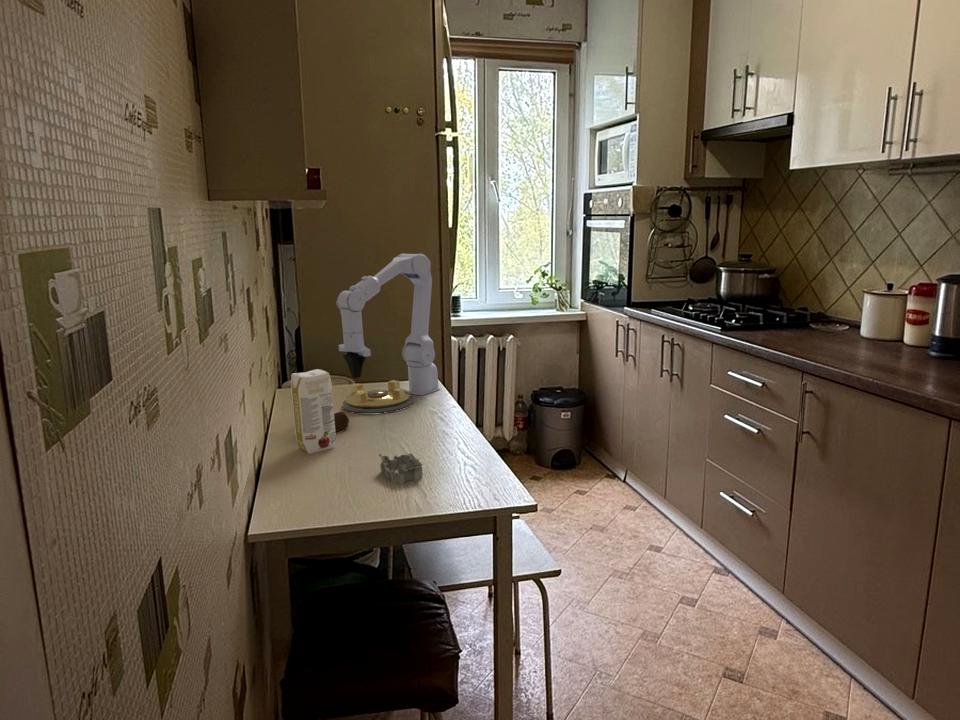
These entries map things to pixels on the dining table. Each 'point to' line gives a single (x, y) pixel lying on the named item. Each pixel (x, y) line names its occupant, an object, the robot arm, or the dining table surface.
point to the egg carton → (401, 468)
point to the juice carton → (313, 411)
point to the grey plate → (378, 410)
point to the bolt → (340, 421)
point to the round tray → (377, 396)
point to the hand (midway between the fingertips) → (356, 377)
